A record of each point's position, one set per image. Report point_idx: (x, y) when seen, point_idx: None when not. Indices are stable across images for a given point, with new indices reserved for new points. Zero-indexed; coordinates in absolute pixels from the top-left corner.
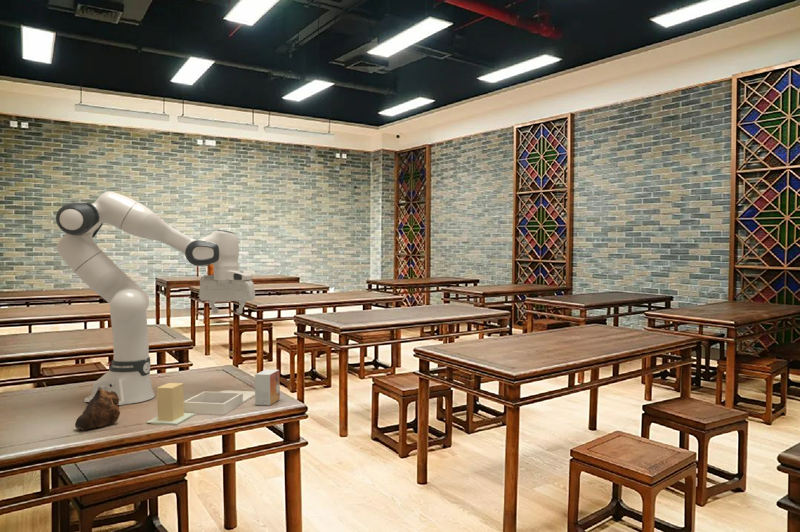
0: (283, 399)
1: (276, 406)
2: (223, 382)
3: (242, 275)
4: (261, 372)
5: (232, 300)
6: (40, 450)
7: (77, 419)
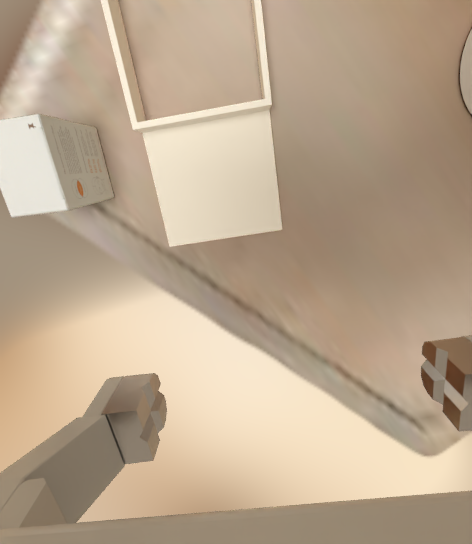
0: None
1: None
2: (339, 314)
3: None
4: (36, 151)
5: (120, 524)
6: None
7: None
